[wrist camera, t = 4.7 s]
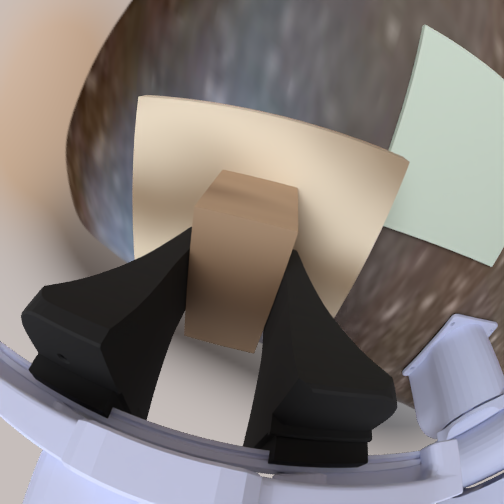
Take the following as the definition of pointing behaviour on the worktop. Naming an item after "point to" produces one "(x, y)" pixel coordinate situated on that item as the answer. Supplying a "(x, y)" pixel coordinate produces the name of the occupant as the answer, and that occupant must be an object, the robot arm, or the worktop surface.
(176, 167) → the lid
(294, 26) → the worktop surface
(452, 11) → the worktop surface
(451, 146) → the mat
